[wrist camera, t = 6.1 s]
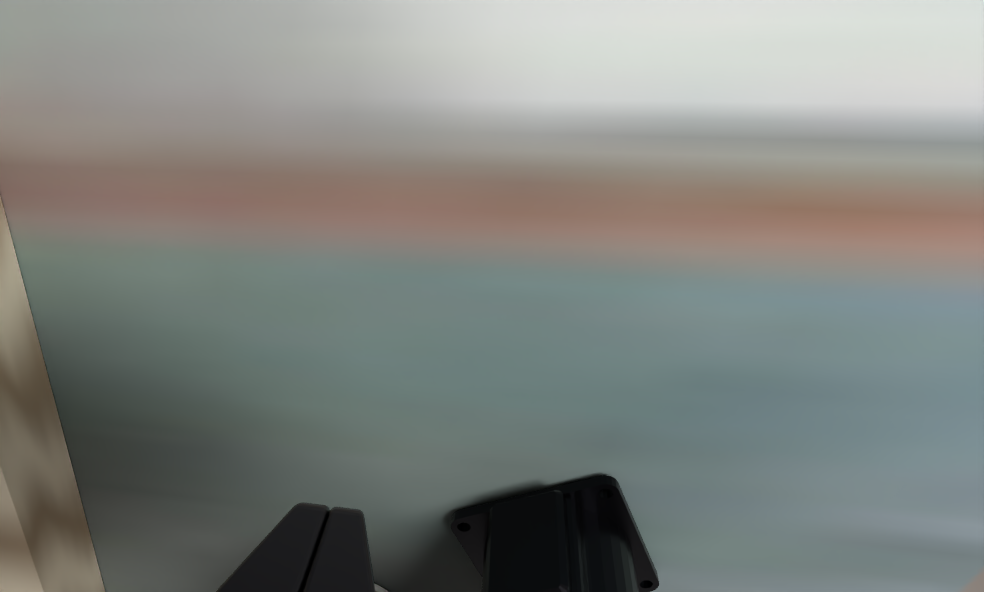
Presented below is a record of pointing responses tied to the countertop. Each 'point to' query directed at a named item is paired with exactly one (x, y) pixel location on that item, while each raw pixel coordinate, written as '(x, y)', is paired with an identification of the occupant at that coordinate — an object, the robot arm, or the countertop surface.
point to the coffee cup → (379, 588)
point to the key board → (35, 459)
